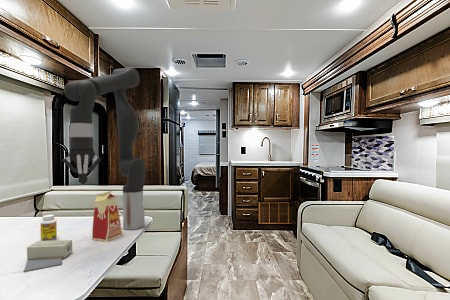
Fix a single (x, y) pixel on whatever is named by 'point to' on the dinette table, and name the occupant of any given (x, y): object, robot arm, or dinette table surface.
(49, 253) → the skincare box
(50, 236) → the supplement bottle
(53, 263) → the mat
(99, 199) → the milk carton
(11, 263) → the dinette table surface
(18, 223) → the dinette table surface
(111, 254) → the dinette table surface
